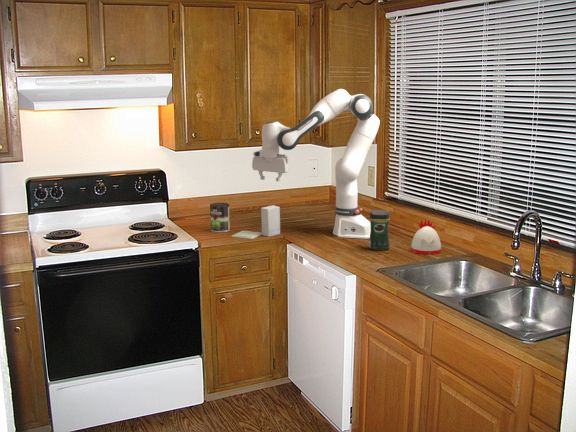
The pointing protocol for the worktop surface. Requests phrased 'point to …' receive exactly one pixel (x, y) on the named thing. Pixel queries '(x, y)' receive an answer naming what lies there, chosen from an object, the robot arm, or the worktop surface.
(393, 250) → the worktop surface
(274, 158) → the robot arm
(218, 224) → the coffee can
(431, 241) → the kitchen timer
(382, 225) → the coffee jar
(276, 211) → the skincare box
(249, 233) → the plate
